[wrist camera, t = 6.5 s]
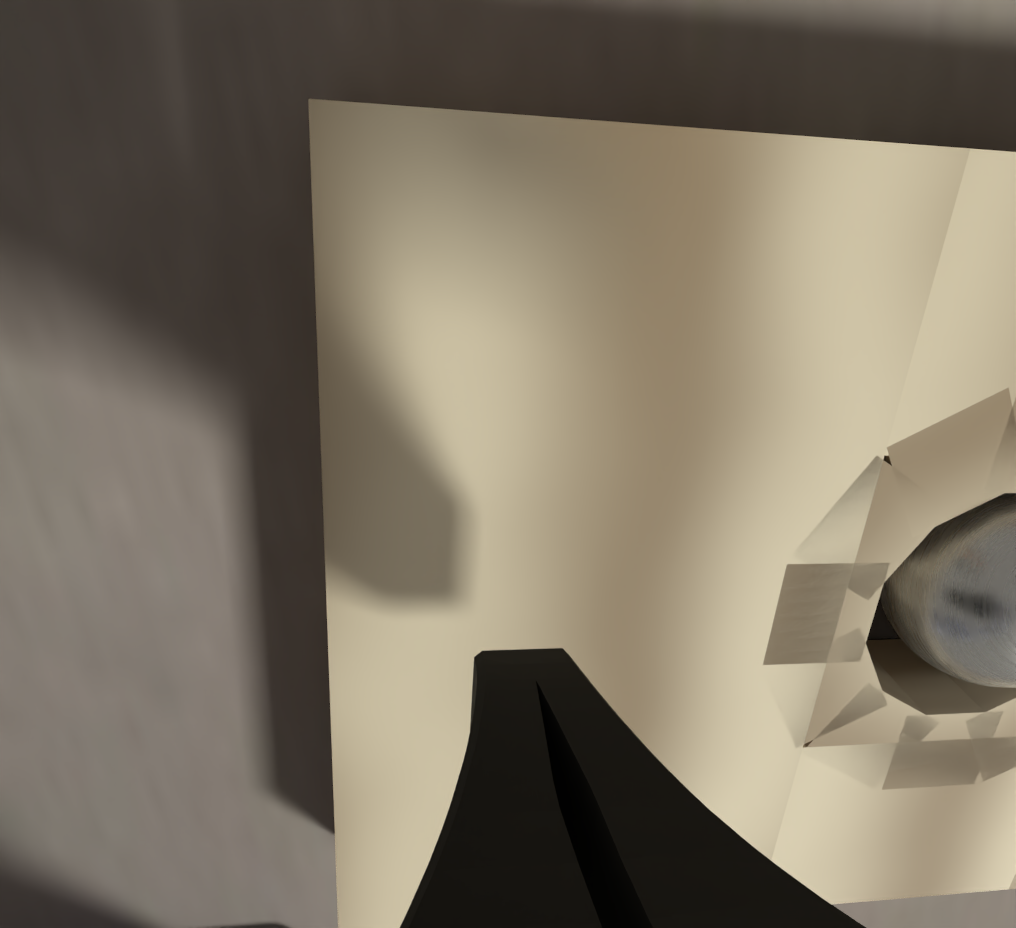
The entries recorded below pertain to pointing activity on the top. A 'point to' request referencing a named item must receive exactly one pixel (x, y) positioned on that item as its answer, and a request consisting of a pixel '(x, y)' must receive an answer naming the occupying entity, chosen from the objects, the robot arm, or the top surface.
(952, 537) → the steel ball
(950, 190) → the hole plate
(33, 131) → the top surface
